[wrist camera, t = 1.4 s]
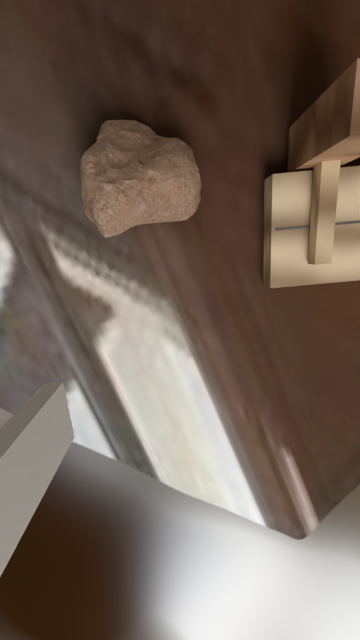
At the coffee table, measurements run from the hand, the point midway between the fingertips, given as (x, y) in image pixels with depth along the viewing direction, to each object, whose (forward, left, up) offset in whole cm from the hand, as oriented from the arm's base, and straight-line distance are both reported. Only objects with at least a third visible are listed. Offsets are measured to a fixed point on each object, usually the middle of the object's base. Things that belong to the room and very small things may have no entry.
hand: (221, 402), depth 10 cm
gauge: (-10, +14, -22) cm, 29 cm away
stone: (-14, -5, -23) cm, 27 cm away
